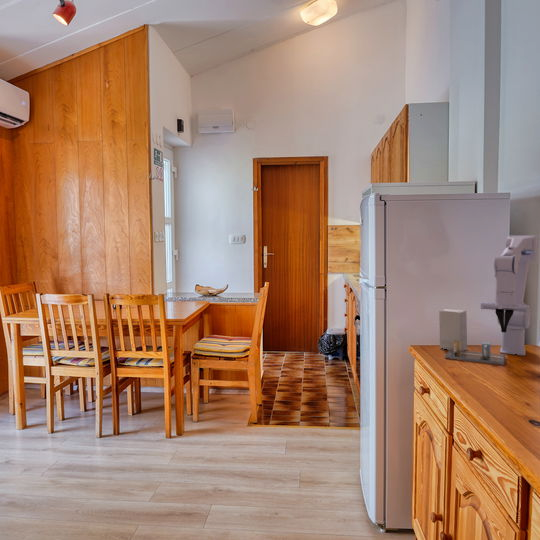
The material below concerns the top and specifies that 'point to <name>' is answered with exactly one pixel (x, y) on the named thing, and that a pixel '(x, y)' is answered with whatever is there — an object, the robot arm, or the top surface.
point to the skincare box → (453, 328)
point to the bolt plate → (473, 355)
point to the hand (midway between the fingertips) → (503, 331)
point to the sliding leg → (486, 349)
